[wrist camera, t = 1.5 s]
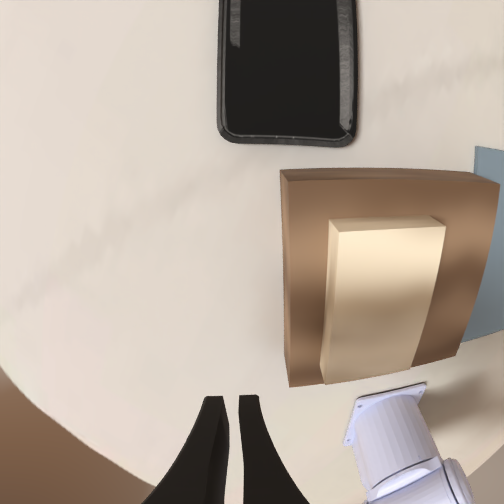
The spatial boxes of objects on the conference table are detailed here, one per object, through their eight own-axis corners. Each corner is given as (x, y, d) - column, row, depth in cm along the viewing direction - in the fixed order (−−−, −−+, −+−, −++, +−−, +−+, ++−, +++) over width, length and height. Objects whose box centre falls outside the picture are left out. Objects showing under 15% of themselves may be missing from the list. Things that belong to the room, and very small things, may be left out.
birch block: (400, 352, 19) (409, 369, 17) (319, 365, 19) (324, 384, 17) (428, 215, 15) (445, 226, 13) (328, 219, 15) (338, 232, 13)
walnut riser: (437, 330, 23) (455, 355, 20) (284, 354, 23) (289, 387, 20) (469, 172, 17) (500, 184, 14) (279, 169, 17) (287, 181, 14)
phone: (348, -62, 10) (355, 149, 16) (344, -54, 11) (348, 147, 17) (221, -73, 10) (214, 143, 16) (222, -65, 11) (216, 142, 17)
